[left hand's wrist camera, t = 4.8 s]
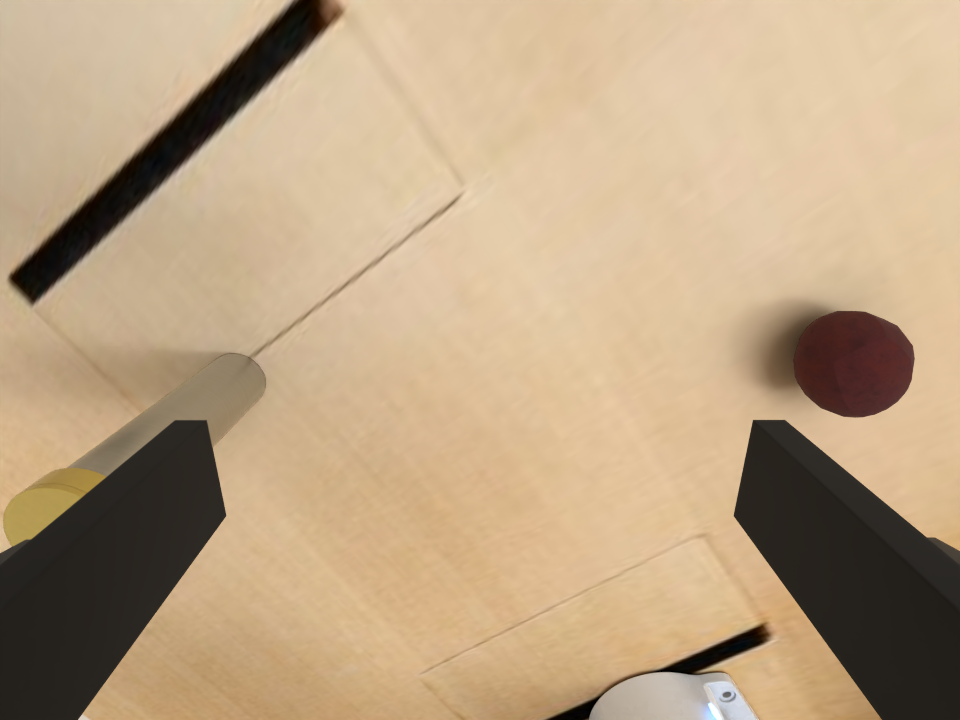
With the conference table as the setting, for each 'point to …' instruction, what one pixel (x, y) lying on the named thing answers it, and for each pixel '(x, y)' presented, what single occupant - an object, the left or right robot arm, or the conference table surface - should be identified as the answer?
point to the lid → (46, 501)
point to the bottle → (186, 410)
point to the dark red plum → (853, 363)
